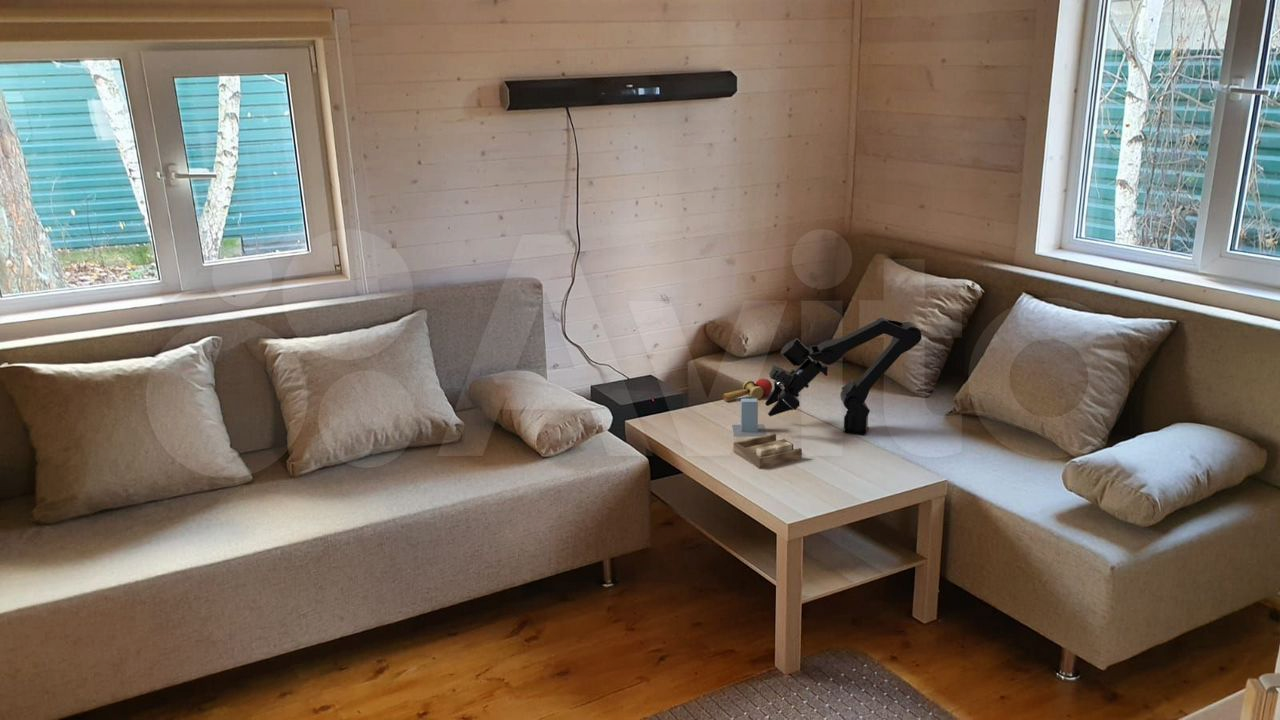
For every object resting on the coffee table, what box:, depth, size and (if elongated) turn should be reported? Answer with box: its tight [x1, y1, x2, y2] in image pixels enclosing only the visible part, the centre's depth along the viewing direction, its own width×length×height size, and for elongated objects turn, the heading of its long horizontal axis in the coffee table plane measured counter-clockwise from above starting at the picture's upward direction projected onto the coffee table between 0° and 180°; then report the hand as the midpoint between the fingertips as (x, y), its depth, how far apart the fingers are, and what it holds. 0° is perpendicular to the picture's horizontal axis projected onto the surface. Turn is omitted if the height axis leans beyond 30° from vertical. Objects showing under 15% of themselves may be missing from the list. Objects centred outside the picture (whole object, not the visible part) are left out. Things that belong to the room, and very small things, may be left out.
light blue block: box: [740, 398, 759, 432], centre depth 297 cm, size 5×3×10 cm, turn 88°
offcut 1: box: [756, 446, 775, 457], centre depth 274 cm, size 5×2×4 cm, turn 116°
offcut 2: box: [773, 441, 793, 454], centre depth 276 cm, size 5×2×4 cm, turn 116°
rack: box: [733, 433, 803, 470], centre depth 279 cm, size 14×14×4 cm
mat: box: [731, 423, 767, 438], centre depth 299 cm, size 10×10×1 cm
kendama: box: [722, 378, 773, 403], centre depth 329 cm, size 8×6×18 cm
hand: (767, 410), depth 297 cm, fingers open, 9 cm apart
